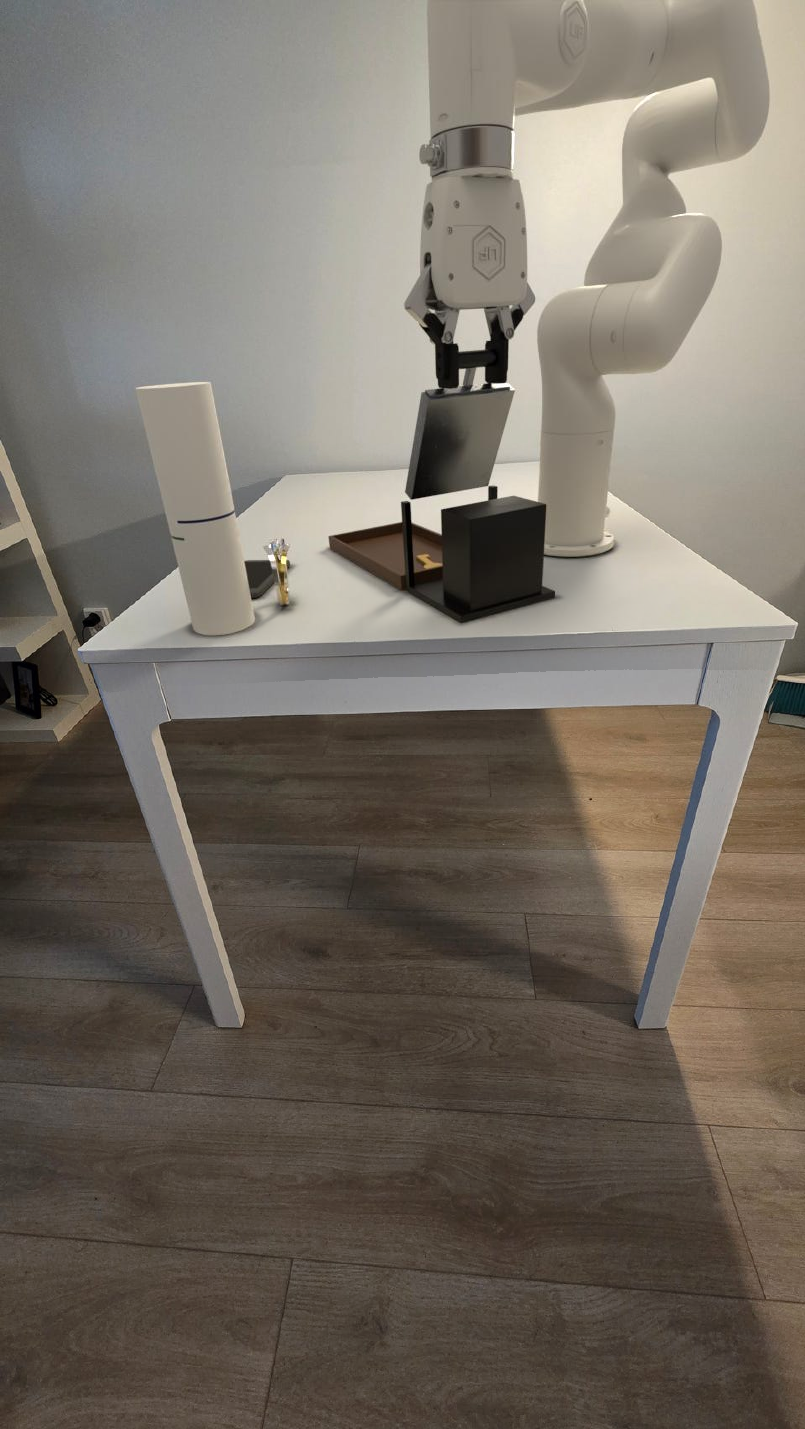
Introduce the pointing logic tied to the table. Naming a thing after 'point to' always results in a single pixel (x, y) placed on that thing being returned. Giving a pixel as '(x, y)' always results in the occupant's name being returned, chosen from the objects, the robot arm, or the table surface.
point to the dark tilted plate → (458, 432)
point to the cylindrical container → (198, 504)
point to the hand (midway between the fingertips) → (472, 383)
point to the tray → (390, 552)
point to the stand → (484, 557)
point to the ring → (279, 568)
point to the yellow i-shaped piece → (427, 561)
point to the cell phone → (260, 576)
